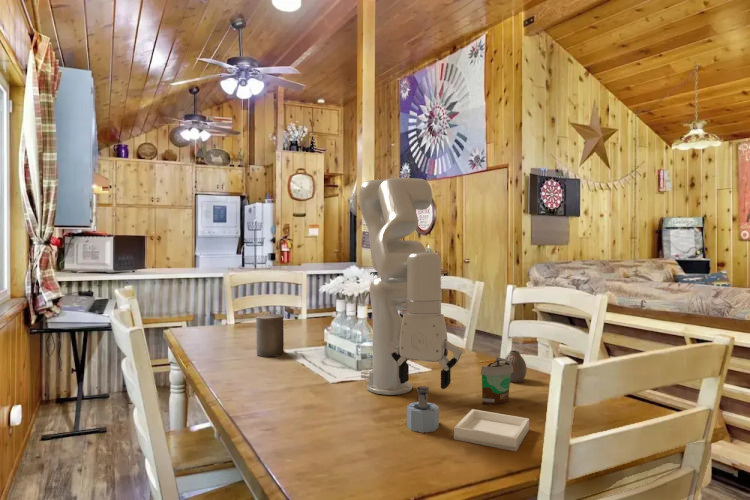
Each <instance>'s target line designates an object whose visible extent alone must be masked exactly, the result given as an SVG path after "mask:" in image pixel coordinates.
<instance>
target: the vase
mask: <svg viewBox="0 0 750 500" xmlns="http://www.w3.org/2000/svg"><path fill="white" fill-rule="evenodd" d="M504 359H507V360H509V361H510V362H511V364H512V366H513V373H511V375H510V383H521V382H522V381H523V380H524V379H525V378H526V375H527V372H528V371H527V368H528V367H527V363H526V362H525V359H524V357H523V356H521V353H520V352H519V350H510V352H509V353H508V355H507V356H506V357H505V358H504Z"/></svg>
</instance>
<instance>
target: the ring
mask: <svg viewBox="0 0 750 500" xmlns="http://www.w3.org/2000/svg"><path fill="white" fill-rule="evenodd" d="M439 423H440V406H438V405H436V404H435V403H433V402H428V401H427V410H419V409H418V401H416V402H415V401H414V402H411V403H409V404H408V405H406V427H407V428H408V429H409V430H410V431H413V432H417V431H418V433H424V432H425V433H431V432H432V433H433V432H435V431H436V430H437V429H438V428H439V427H440V424H439ZM425 433H424V434H425Z"/></svg>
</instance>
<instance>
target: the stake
mask: <svg viewBox="0 0 750 500" xmlns="http://www.w3.org/2000/svg"><path fill="white" fill-rule="evenodd" d="M416 391H417V393H418V396H417V397H418V401H417V402H418V409H419V410H427V402H428V393H429V391H430V388H429V387H428V386H425V385H419V386H417V388H416Z"/></svg>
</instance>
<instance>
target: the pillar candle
mask: <svg viewBox="0 0 750 500" xmlns="http://www.w3.org/2000/svg"><path fill="white" fill-rule="evenodd" d="M255 319H256V320H255V321H256V322H255V323H256V327H255V329H256V332H255V333H256V339H255V340H256V342H255V343H256V355H257V356H258V357H262V358H263V357H264V358H266V357H267V358H270V357H278V356H282V355H284V353H285V351H284V346H285V343H284V340H285V339H284V334H285V333H284V315H282V314H280V313H279V314H278V313H277V314H276V313H274V314H273V313H267V314H260V315H257V316H255Z"/></svg>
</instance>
